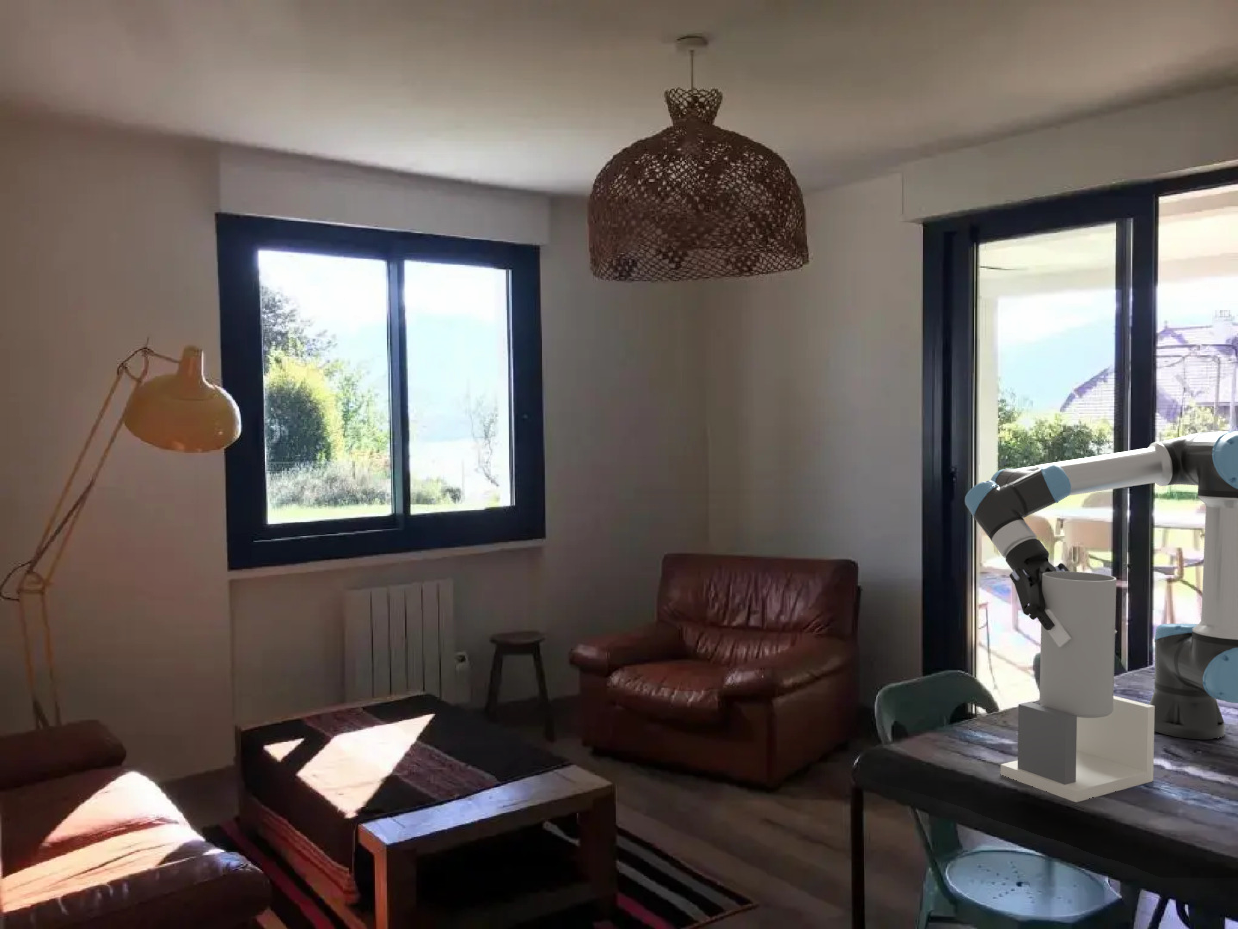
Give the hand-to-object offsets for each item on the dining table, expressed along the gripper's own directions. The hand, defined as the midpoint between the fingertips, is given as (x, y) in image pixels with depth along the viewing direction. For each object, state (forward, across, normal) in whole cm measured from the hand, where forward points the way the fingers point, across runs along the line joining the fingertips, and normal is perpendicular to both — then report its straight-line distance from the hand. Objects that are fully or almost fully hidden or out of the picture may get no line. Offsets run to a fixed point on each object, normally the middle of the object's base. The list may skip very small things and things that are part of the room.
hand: (1088, 639), depth 183 cm
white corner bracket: (+17, 0, -20) cm, 26 cm away
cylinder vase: (+8, 0, -11) cm, 14 cm away
